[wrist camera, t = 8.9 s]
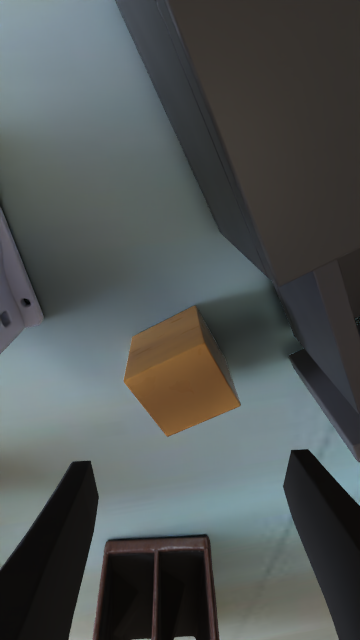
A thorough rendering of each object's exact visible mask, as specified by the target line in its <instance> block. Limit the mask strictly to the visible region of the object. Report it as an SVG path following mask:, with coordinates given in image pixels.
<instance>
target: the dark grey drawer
mask: <svg viewBox="0 0 360 640" xmlns="http://www.w3.org/2000/svg"><path fill="white" fill-rule="evenodd" d="M273 285H274V287H275V290H276V292H277V295H278V297H279V300H280V302H281V305H282V307H283V310H284V312H285V314H286V317H287V319H288V322H289V324H290V327H291V329H292V332H293V334H294V337H295V338H296V339H297V340H298V341H299V342H300V344H301V345H302V346H303V348H304V349H302V350H299V351H297V352H295V353H293V354H290V355H289V359H290V361H291V363H292V366H293V368H294V370H295V371H296V373H297V374H298V375H299V377H300V378H301V380H302V381H303V383H304V384H305V386H306V387H307V389H308V390H309V392H310V393H311V394H312V396H313V397H314V399H315V400H316V402H317V403H318V405H319V406H320V408H321V409H322V410H323V412H324V413H325V415H326V416H327V418H328V419H329V421H330V422H331V424H332V425H333V427H334V428H335V429H336V431H337V432H338V434H339V435H340V437H341V438H342V440H343V441H344V443H345V444H346V445H347V447H348V448H349V450H350V451H351V453H352V454H353V456H354V457H355V459H356V460H357V461H358V462H360V324H358V325H356V322H355V318H357V317H359V316H360V248H359V249H357V250H355V251H353V252H351V253H348V254H346V255H344V256H342V257H340V258H338V259H336V260H334V261H332V262H330V263H328V264H326V265H324V266H322V267H320V268H318V269H316V270H314V271H312V272H310V273H308V274H306V275H303V276H301V277H299V278H297V279H295V280H293V281H291V282H289V283H287V284H285V285H283V286H280V287H278V286H277V285H276V284H275V283H274V282H273Z"/></svg>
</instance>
